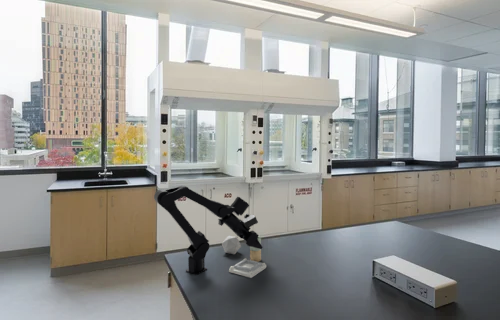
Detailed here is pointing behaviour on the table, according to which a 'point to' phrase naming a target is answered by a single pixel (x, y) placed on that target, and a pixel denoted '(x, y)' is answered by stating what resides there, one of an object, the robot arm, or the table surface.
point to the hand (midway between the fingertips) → (258, 245)
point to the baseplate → (247, 268)
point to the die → (231, 244)
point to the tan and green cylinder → (255, 252)
